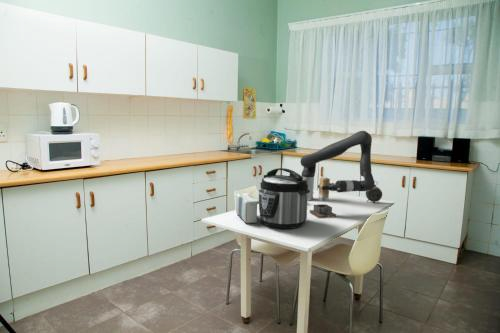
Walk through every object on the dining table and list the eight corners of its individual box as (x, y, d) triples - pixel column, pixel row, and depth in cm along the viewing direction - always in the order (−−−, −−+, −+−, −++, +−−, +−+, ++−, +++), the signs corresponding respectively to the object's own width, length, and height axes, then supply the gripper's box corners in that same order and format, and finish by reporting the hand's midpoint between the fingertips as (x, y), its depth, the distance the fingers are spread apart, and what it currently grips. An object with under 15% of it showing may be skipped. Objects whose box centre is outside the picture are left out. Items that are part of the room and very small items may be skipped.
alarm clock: (380, 202, 260) (382, 180, 258) (382, 204, 255) (384, 182, 253) (364, 201, 262) (366, 179, 259) (366, 203, 256) (368, 181, 254)
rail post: (321, 201, 220) (323, 179, 218) (318, 199, 224) (319, 177, 222) (328, 200, 221) (329, 178, 219) (324, 199, 226) (326, 177, 223)
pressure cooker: (253, 215, 218) (254, 164, 213) (297, 214, 223) (300, 164, 218) (262, 232, 189) (265, 173, 184) (313, 230, 193) (317, 173, 189)
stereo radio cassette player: (235, 214, 220) (235, 182, 217) (247, 213, 223) (248, 182, 219) (244, 224, 200) (245, 189, 197) (258, 223, 203) (259, 189, 200)
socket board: (318, 218, 217) (318, 209, 216) (309, 212, 228) (309, 204, 227) (335, 216, 220) (336, 208, 220) (326, 211, 232) (326, 203, 231)
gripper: (338, 178, 232) (315, 179, 227) (351, 182, 218) (326, 183, 213) (338, 189, 233) (314, 190, 228) (350, 194, 220) (325, 195, 215)
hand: (320, 187), depth 221 cm, fingers closed on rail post, 4 cm apart
